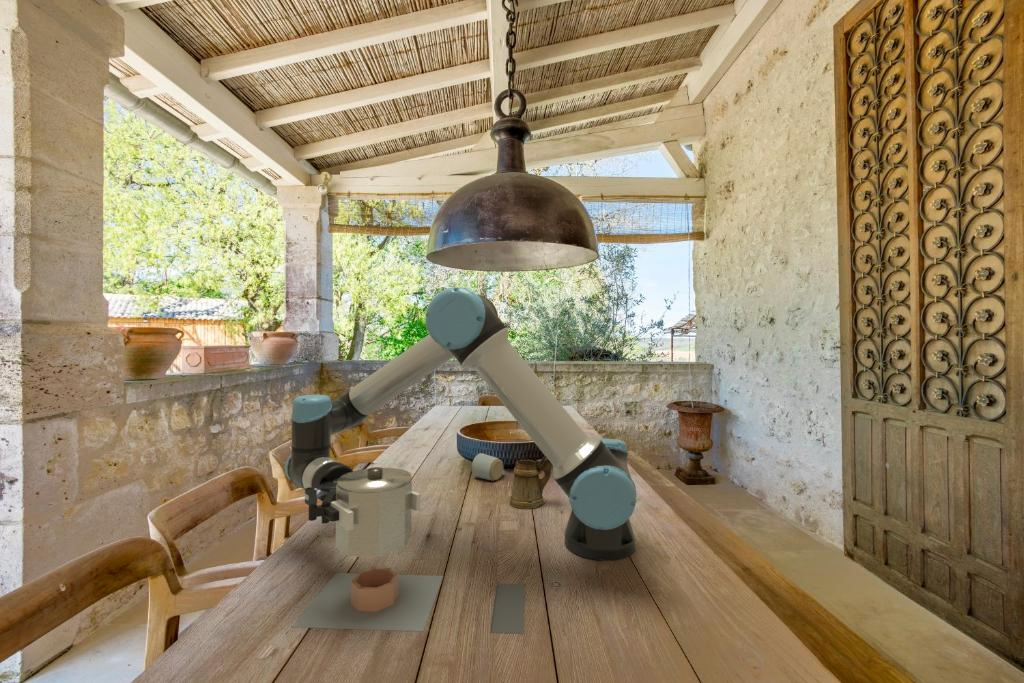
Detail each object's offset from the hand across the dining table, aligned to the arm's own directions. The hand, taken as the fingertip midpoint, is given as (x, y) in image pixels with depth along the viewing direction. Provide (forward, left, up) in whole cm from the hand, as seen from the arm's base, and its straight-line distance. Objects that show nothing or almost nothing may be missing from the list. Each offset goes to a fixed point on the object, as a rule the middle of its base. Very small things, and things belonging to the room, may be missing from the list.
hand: (386, 511), depth 73 cm
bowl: (+3, -3, -16) cm, 16 cm away
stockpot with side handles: (+3, -3, -6) cm, 7 cm away
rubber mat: (-15, -3, -17) cm, 23 cm away
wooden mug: (-24, -52, -17) cm, 60 cm away
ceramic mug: (-10, -75, -17) cm, 77 cm away
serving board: (+3, -3, -17) cm, 17 cm away
